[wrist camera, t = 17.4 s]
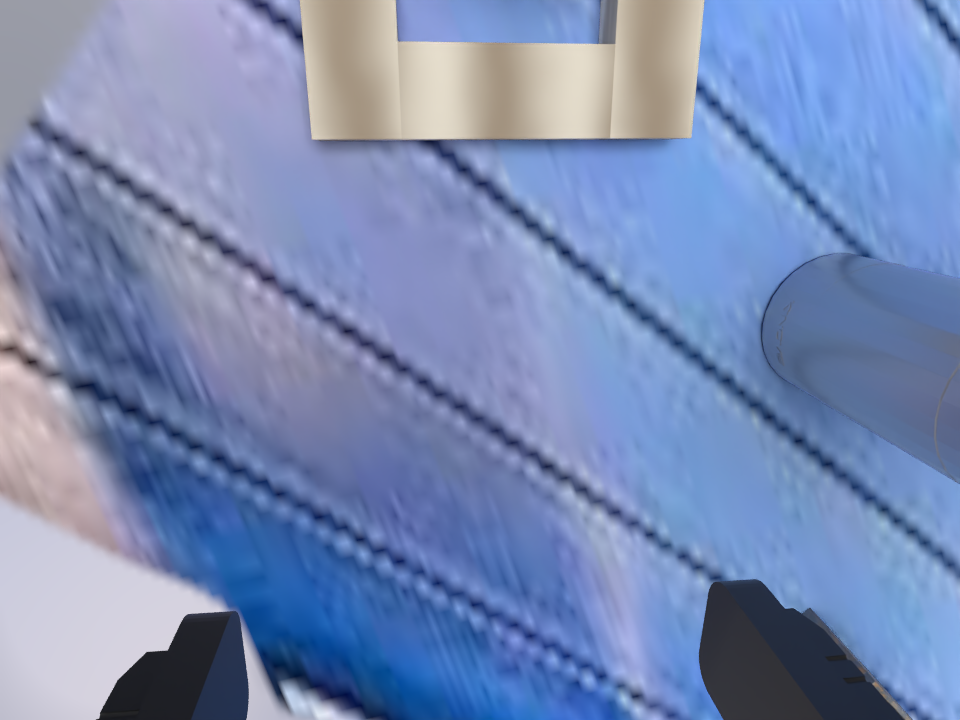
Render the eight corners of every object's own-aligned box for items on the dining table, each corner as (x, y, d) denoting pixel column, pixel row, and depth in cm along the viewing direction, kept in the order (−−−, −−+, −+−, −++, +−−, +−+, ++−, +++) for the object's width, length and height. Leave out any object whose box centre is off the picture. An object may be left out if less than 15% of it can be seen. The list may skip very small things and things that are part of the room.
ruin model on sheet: (776, 627, 50) (859, 734, 41) (806, 603, 49) (897, 706, 40) (845, 698, 53) (937, 811, 44) (874, 676, 53) (973, 787, 44)
